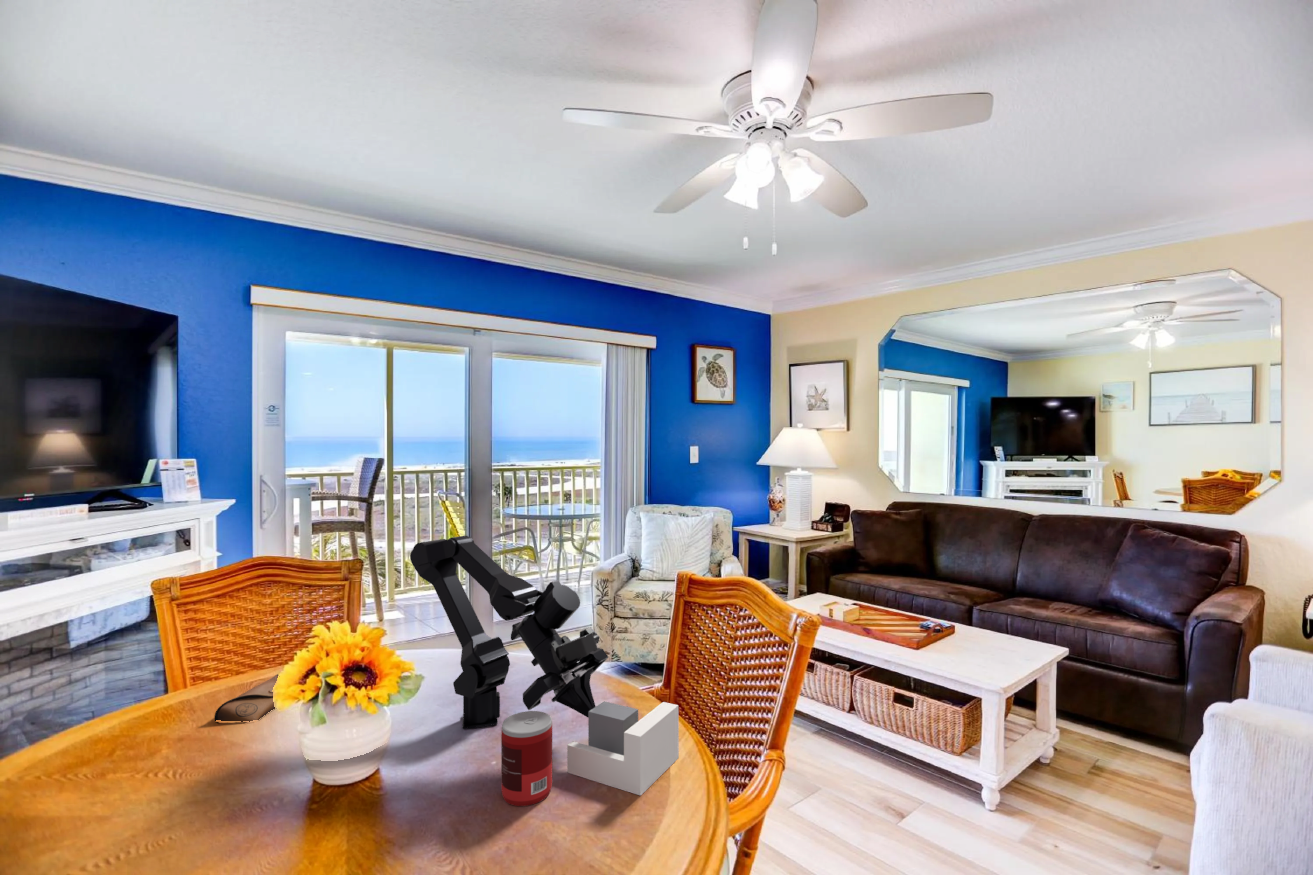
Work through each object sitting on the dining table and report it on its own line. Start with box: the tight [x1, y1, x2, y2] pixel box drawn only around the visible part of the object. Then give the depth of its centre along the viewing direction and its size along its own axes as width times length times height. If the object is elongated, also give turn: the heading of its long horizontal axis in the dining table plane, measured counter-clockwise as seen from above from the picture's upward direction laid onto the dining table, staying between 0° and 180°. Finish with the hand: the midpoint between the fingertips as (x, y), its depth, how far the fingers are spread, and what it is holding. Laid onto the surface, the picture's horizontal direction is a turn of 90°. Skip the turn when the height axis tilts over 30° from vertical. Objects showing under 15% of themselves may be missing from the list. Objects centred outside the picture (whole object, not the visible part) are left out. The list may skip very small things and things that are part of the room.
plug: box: [587, 701, 639, 756], centre depth 103 cm, size 10×5×8 cm, turn 61°
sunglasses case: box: [213, 673, 279, 722], centre depth 127 cm, size 18×7×7 cm
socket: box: [566, 701, 680, 797], centre depth 103 cm, size 14×13×9 cm
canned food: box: [500, 710, 553, 807], centre depth 95 cm, size 8×8×11 cm
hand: (595, 717), depth 106 cm, fingers closed, pressing on plug
